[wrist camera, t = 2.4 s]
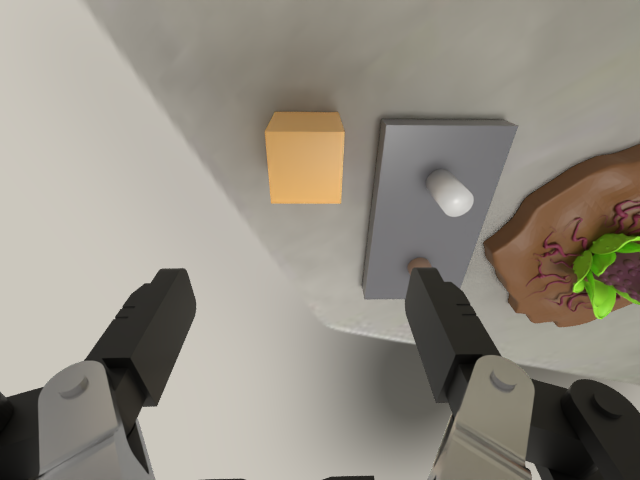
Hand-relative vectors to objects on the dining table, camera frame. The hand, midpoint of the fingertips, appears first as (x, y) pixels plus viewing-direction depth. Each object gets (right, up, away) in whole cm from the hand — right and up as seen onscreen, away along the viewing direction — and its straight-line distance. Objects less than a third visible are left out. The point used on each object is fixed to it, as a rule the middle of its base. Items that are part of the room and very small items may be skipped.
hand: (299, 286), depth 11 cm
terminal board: (+11, +4, +19) cm, 22 cm away
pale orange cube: (0, +10, +14) cm, 17 cm away
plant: (+29, +2, +21) cm, 35 cm away
